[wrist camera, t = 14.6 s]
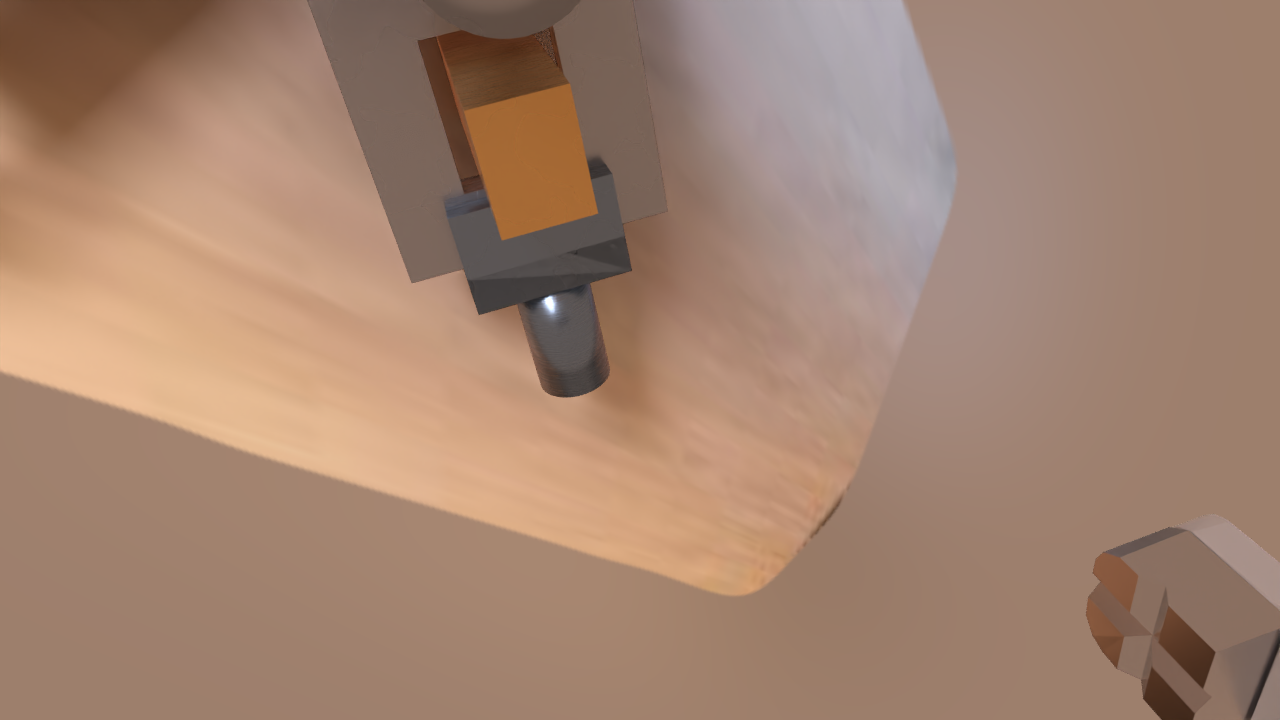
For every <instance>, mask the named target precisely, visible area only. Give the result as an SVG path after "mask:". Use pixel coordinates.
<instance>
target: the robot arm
mask: <svg viewBox="0 0 1280 720" xmlns="http://www.w3.org/2000/svg"><path fill="white" fill-rule="evenodd" d="M1093 574H1094V575H1095V576H1096V577H1097V578H1098V579H1099V580H1100V581H1101V582H1100V583H1099V584H1098V585H1097V587H1096V588H1095V589H1094V591H1093V592H1092V593H1091V594H1090V595H1089V597H1088V603H1087V611H1086V616H1087V620H1088V623H1089V626H1090V629H1091V632H1092V635H1093V637H1094V639H1095V640H1096V642H1097V644H1098V645H1099V647H1100V649H1101V650H1102V652H1103V653H1104V654H1105V655H1106V657H1107V658H1108V659H1109V660H1110V661H1111V662H1112V664H1113V665H1114V666H1115V667H1116V668H1117V669H1118V670H1121V671H1123V672H1125V673H1127V674H1130V675H1132V676H1134V677H1136V678H1139V679H1141V683H1142V692H1143V699H1144V700H1145V701H1146V703H1147V704H1148V705H1149V706H1150V707H1151V708H1152V710H1153V711H1154V712H1155V713H1156V714H1157V715H1158V716H1159V717H1160V718H1161V720H1280V563H1279V562H1278V561H1277V560H1276V559H1274V558H1273V557H1272V556H1271V555H1269V554H1268V553H1267V552H1266V551H1265V550H1263V549H1262V548H1261V547H1260V546H1259V545H1257V544H1256V543H1255V542H1254V541H1252V540H1251V539H1250V538H1249V537H1248V536H1246V535H1245V534H1244V533H1243V532H1241V531H1240V530H1239V529H1238V528H1236V527H1235V526H1234V525H1233V524H1232V523H1231V522H1229V521H1228V520H1226V519H1225V518H1222V517H1220V516H1217V515H1215V514H1210V515H1203V516H1201V517H1198V518H1195V519H1192V520H1190V521H1187V522H1184V523H1182V524H1179V525H1176V526H1174V527H1168V528H1166V529H1163V530H1160V531H1158V532H1155V533H1152V534H1150V535H1147V536H1145V537H1142V538H1140V539H1137V540H1134V541H1132V542H1129V543H1126V544H1124V545H1121V546H1118V547H1116V548H1113V549H1111V550H1108V551H1106V552H1103V553H1102V554H1101V555H1100V556H1099V557H1097V558H1096V560H1095V565H1094V569H1093Z"/></svg>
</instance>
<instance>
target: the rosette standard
mask: <svg viewBox="0 0 1280 720" xmlns="http://www.w3.org/2000/svg"><path fill="white" fill-rule="evenodd" d="M307 1H308V3H309V6H310V9H311V11H312V14H313V17H314V20H315V22H316V25H317V28H318V30H319V33H320V36H321V38H322V41H323V44H324V47H325V49H326V52H327V55H328V57H329V60H330V63H331V66H332V68H333V71H334V74H335V76H336V79H337V82H338V85H339V87H340V90H341V93H342V95H343V98H344V101H345V104H346V106H347V109H348V112H349V114H350V117H351V120H352V123H353V125H354V128H355V131H356V133H357V136H358V139H359V141H360V144H361V147H362V150H363V152H364V155H365V158H366V160H367V163H368V166H369V169H370V171H371V174H372V177H373V179H374V182H375V185H376V188H377V190H378V193H379V196H380V198H381V201H382V204H383V207H384V209H385V212H386V215H387V217H388V220H389V223H390V225H391V228H392V231H393V234H394V236H395V239H396V242H397V244H398V247H399V250H400V253H401V255H402V258H403V261H404V263H405V266H406V269H407V272H408V274H409V277H410V280H411V282H412V283H415V282H419V281H422V280H426V279H429V278H433V277H436V276H440V275H443V274H447V273H451V272H454V271H458V270H461V269H464V271H465V274H466V277H467V280H468V283H469V287H470V290H471V293H472V296H473V299H474V302H475V305H476V308H477V311H478V314H479V315H480V314H484V313H487V312H491V311H494V310H498V309H501V308H505V307H508V306H512V305H515V304H517V305H518V309H519V312H520V315H521V319H522V322H523V326H524V329H525V332H526V336H527V339H528V343H529V346H530V349H531V353H532V356H533V360H534V363H535V366H536V370H537V373H538V377H539V380H540V383H541V386H542V388H543V390H544V391H545V392H547V393H548V394H550V395H553V396H557V397H575V396H580V395H583V394H586V393H589V392H591V391H593V390H595V389H596V388H598V387H599V386H601V385H602V384H603V383H604V382H605V381H606V379H607V378H608V376H609V373H610V366H609V362H608V358H607V353H606V349H605V345H604V341H603V336H602V332H601V328H600V324H599V319H598V315H597V311H596V307H595V302H594V298H593V294H592V290H591V285H590V283H591V282H594V281H598V280H601V279H605V278H608V277H612V276H615V275H619V274H622V273H625V272H629V271H632V269H631V264H630V259H629V254H628V249H627V244H626V239H625V234H624V229H623V224H624V223H628V222H631V221H635V220H638V219H642V218H645V217H649V216H652V215H656V214H660V213H663V212H667V211H668V209H667V203H666V197H665V191H664V185H663V179H662V173H661V167H660V161H659V155H658V149H657V143H656V137H655V131H654V125H653V119H652V113H651V107H650V101H649V95H648V89H647V83H646V77H645V71H644V65H643V59H642V53H641V47H640V41H639V35H638V29H637V23H636V17H635V11H634V5H633V0H307ZM547 28H549V31H550V36H551V40H552V45H553V49H554V54H555V58H556V63H557V67H558V68H559V69H560V71H561V72H562V73H563V75H564V76H565V77H566V79H567V80H568V81H569V83H570V86H571V90H572V95H573V99H574V104H575V109H576V113H577V118H578V122H579V127H580V132H581V136H582V141H583V146H584V150H585V155H586V159H587V164H588V169H589V173H590V178H591V182H592V187H593V192H594V196H595V201H596V206H597V210H598V214H595V215H592V216H588V217H584V218H581V219H577V220H574V221H570V222H567V223H563V224H559V225H556V226H552V227H549V228H545V229H542V230H538V231H534V232H531V233H527V234H524V235H520V236H517V237H513V238H509V239H506V240H501V237H500V234H499V231H498V228H497V225H496V222H495V219H494V216H493V214H492V211H491V208H490V205H489V202H488V199H487V196H486V193H485V190H484V187H483V184H482V181H481V178H480V175H477V176H474V177H470V178H466V179H462V180H460V177H459V174H458V171H457V168H456V164H455V161H454V158H453V155H452V151H451V148H450V145H449V142H448V138H447V135H446V132H445V129H444V125H443V122H442V119H441V116H440V112H439V109H438V106H437V103H436V100H435V96H434V93H433V90H432V87H431V83H430V80H429V77H428V74H427V70H426V67H425V64H424V61H423V57H422V54H421V51H420V48H419V44H418V41H419V40H423V39H427V38H431V37H435V36H439V35H443V34H447V33H451V32H456V31H460V30H464V31H466V32H469V33H472V34H474V35H479V36H483V37H487V38H497V39H511V38H519V37H525V36H529V35H532V34H535V33H538V32H541V31H543V30H545V29H547Z"/></svg>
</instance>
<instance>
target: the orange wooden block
mask: <svg viewBox="0 0 1280 720" xmlns="http://www.w3.org/2000/svg"><path fill="white" fill-rule="evenodd" d="M436 39H437V42H438V45H439V49H440V52H441V55H442V59H443V62H444V66H445V69H446V72H447V76H448V79H449V83H450V86H451V89H452V93H453V96H454V99H455V103H456V106H457V110H458V113H459V116H460V120H461V123H462V126H463V128H464V131H465V134H466V137H467V140H468V143H469V146H470V149H471V152H472V155H473V158H474V161H475V164H476V167H477V170H478V172H479V175H480V178H481V181H482V184H483V187H484V190H485V193H486V196H487V199H488V202H489V205H490V208H491V211H492V214H493V216H494V219H495V222H496V225H497V228H498V231H499V234H500V237H501V240H506V239H509V238H513V237H517V236H520V235H524V234H527V233H531V232H534V231H538V230H542V229H545V228H549V227H552V226H556V225H559V224H563V223H567V222H570V221H574V220H577V219H581V218H584V217H588V216H592V215H595V214H598V210H597V206H596V201H595V196H594V192H593V187H592V182H591V178H590V173H589V169H588V164H587V159H586V155H585V150H584V146H583V141H582V136H581V132H580V127H579V122H578V118H577V113H576V109H575V104H574V99H573V95H572V90H571V86H570V83H569V81H568V80H567V79H566V77H565V76H564V75H563V73H562V72H561V71H560V69H559V68H558V67H557V65H556V64H555V63H554V61H553V60H552V59H551V58H550V56H549V55H548V54H547V52H546V51H545V50H544V48H543V47H542V46H541V44H540V43H539V42H538V40H537V39H536V38H535V36H534V35H533V34H532V35H529V36H525V37H519V38H511V39H497V38H487V37H483V36H479V35H474V34H472V33H469V32H466V31H464V30H460V31H456V32H451V33H447V34H443V35H439V36H436Z"/></svg>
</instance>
